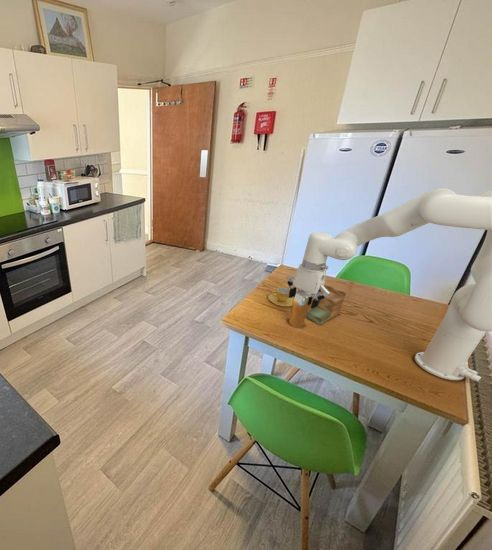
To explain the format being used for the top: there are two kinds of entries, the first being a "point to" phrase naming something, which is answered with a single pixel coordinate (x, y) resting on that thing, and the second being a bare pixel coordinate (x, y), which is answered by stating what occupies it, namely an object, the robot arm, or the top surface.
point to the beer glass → (300, 307)
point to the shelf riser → (327, 306)
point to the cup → (281, 297)
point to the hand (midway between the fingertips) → (302, 301)
